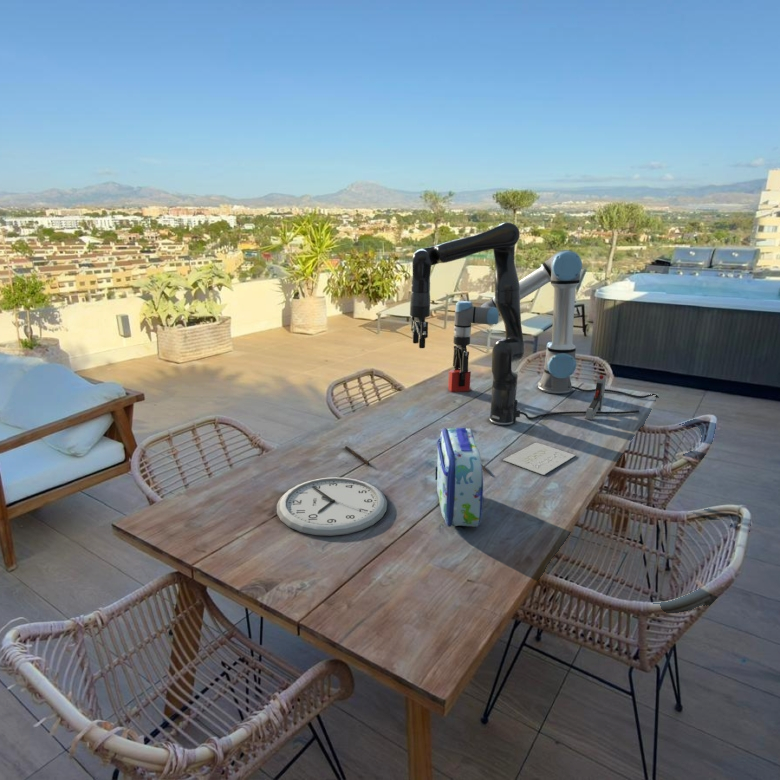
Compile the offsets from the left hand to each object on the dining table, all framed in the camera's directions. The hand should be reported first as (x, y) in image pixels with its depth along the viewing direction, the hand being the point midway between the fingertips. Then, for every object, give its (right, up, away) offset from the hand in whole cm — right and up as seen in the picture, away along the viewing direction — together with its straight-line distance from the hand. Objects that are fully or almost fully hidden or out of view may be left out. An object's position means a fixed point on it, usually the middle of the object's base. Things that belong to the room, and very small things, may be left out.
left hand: (418, 345), depth 203 cm
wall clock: (-27, -49, -60) cm, 82 cm away
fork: (+17, -41, -34) cm, 56 cm away
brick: (+21, -17, +43) cm, 51 cm away
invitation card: (+39, -40, -29) cm, 63 cm away
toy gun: (+73, -28, +13) cm, 79 cm away
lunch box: (+7, -50, -61) cm, 79 cm away
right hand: (+21, -14, +42) cm, 49 cm away
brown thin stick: (-22, -39, -30) cm, 54 cm away
